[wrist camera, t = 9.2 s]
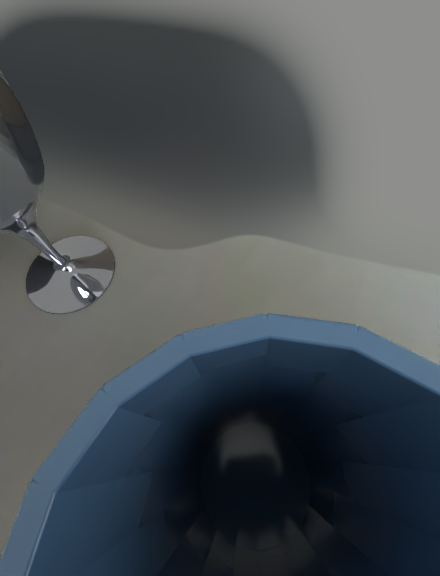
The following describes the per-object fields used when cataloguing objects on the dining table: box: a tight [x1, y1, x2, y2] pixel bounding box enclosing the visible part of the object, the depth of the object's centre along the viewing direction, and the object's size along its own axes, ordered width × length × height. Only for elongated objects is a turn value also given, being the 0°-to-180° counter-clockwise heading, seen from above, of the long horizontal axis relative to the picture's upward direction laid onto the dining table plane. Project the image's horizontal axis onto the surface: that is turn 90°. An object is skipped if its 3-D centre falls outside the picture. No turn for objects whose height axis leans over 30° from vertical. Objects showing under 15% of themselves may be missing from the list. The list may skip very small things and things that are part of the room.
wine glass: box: [0, 71, 115, 314], centre depth 19 cm, size 8×8×15 cm
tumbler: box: [0, 313, 440, 576], centre depth 8 cm, size 5×5×12 cm
